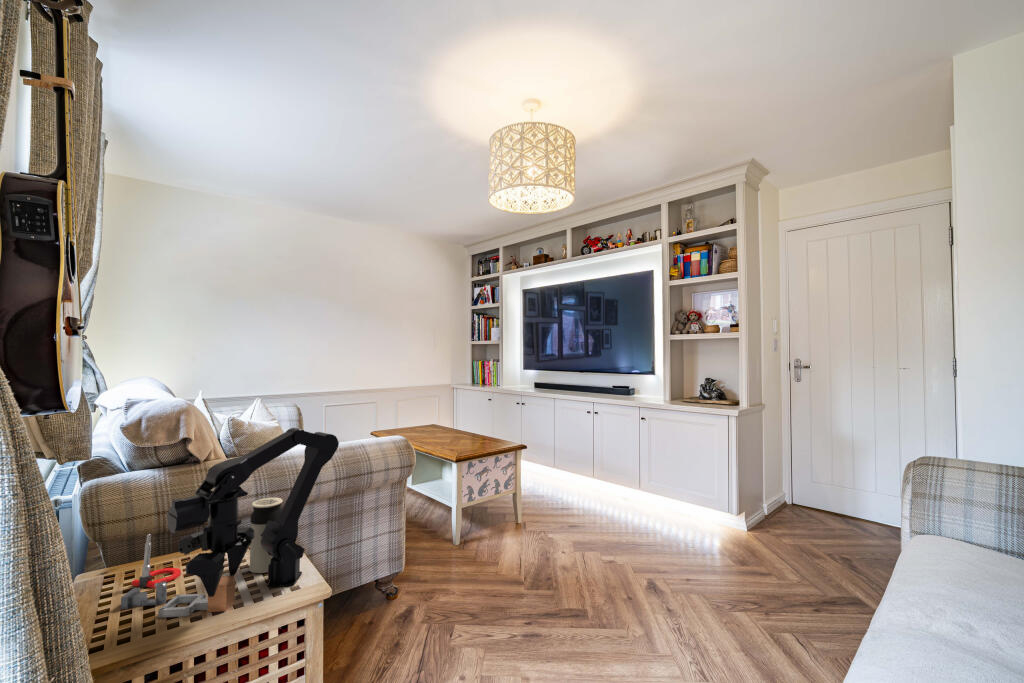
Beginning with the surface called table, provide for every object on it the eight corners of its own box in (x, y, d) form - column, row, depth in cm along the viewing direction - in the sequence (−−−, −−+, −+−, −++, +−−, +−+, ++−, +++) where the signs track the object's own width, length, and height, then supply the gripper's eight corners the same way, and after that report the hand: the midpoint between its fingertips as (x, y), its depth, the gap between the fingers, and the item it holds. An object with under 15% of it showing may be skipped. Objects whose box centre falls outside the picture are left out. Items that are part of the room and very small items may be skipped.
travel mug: (267, 575, 119) (268, 507, 119) (242, 572, 120) (243, 505, 121) (288, 562, 126) (290, 498, 127) (265, 558, 128) (266, 495, 129)
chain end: (237, 598, 108) (237, 573, 108) (223, 614, 101) (223, 587, 101) (176, 601, 106) (177, 576, 106) (158, 617, 100) (158, 590, 100)
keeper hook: (171, 597, 108) (171, 579, 108) (159, 607, 104) (160, 587, 104) (133, 599, 107) (134, 580, 107) (120, 609, 103) (121, 589, 103)
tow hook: (161, 570, 122) (127, 586, 113) (165, 522, 123) (131, 534, 114) (188, 573, 121) (156, 590, 111) (191, 524, 121) (160, 537, 112)
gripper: (209, 505, 113) (208, 567, 113) (159, 536, 95) (158, 610, 94) (255, 504, 114) (254, 565, 114) (215, 534, 96) (214, 607, 96)
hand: (222, 585), depth 104 cm, fingers open, 9 cm apart
